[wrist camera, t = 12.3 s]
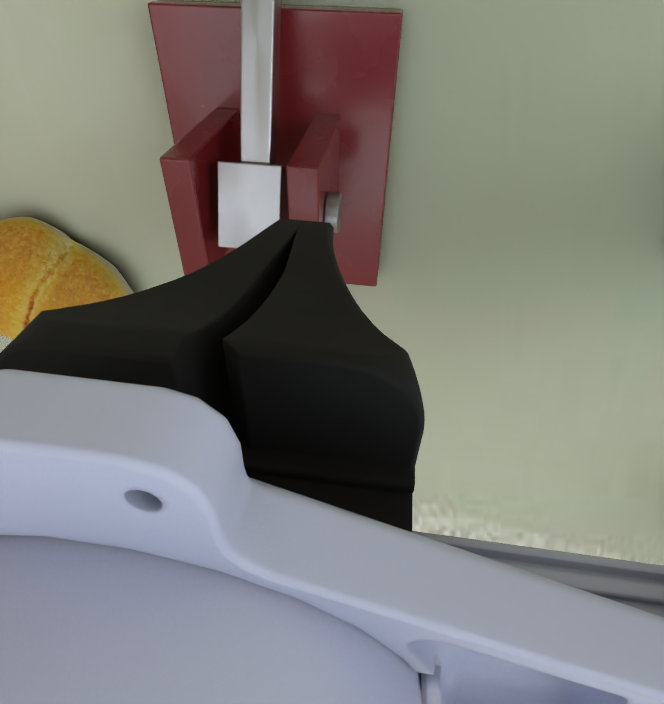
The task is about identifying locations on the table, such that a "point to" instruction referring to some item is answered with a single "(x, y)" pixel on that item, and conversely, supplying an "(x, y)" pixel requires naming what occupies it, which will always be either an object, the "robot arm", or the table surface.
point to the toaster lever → (255, 134)
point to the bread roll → (48, 273)
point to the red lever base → (283, 120)
